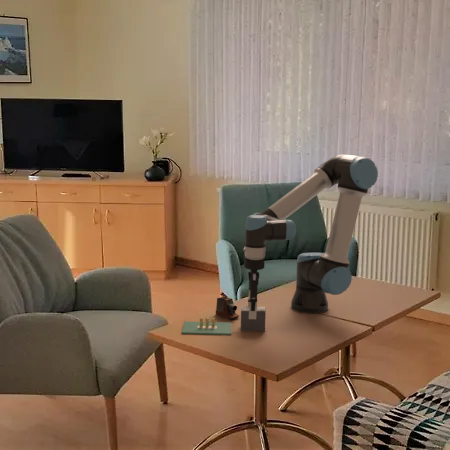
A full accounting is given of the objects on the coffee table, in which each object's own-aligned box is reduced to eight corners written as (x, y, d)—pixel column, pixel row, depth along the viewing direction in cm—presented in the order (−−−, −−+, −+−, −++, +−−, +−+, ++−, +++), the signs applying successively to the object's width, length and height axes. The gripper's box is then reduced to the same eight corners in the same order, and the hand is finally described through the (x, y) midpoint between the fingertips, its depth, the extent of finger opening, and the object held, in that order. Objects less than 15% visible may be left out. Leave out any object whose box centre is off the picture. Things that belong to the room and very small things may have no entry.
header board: (231, 323, 260) (231, 313, 259) (231, 335, 248) (231, 324, 247) (184, 322, 260) (184, 312, 259) (181, 333, 248) (181, 323, 247)
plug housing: (264, 326, 257) (265, 306, 255) (265, 331, 252) (265, 310, 251) (240, 326, 257) (241, 306, 256) (240, 330, 252) (241, 310, 251)
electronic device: (231, 321, 263) (232, 302, 262) (214, 315, 270) (215, 296, 269) (239, 318, 266) (240, 300, 265) (222, 312, 273) (223, 294, 272)
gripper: (244, 249, 262) (241, 302, 265) (244, 265, 237) (242, 323, 241) (263, 250, 261) (260, 303, 265) (266, 266, 237) (263, 324, 241)
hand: (252, 313), depth 253 cm, fingers open, 13 cm apart
